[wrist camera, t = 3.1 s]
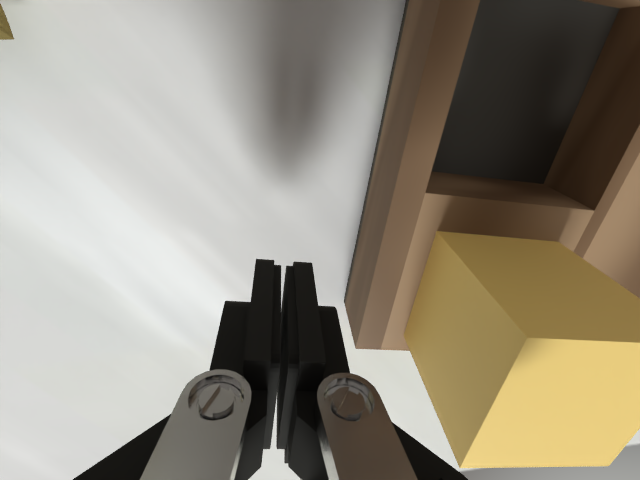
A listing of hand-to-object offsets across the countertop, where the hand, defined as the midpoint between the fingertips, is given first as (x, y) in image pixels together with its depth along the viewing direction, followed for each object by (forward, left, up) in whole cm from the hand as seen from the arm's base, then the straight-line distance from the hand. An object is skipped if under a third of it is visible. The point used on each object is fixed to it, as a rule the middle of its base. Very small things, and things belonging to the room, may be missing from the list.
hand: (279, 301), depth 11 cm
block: (-7, 0, -1) cm, 7 cm away
